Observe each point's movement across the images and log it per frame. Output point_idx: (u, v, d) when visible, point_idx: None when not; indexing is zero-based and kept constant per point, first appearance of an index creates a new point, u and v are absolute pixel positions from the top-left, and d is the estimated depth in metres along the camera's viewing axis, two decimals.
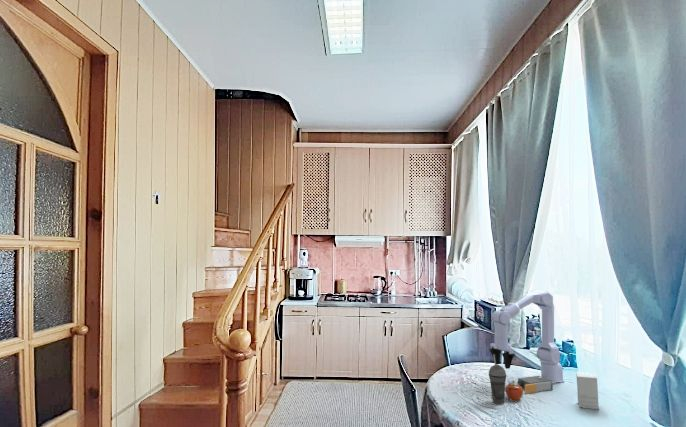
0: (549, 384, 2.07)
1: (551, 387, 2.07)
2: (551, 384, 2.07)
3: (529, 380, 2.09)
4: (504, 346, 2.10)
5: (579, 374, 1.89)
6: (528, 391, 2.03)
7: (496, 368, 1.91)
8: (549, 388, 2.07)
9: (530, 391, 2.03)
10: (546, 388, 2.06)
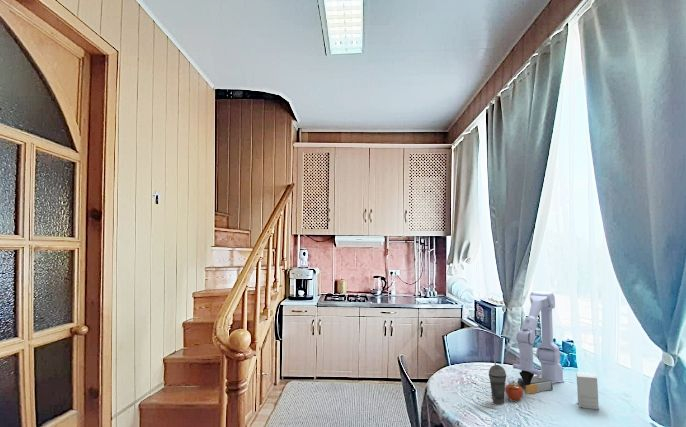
0: (549, 384, 2.07)
1: (551, 387, 2.07)
2: (551, 384, 2.07)
3: None
4: (530, 367, 2.02)
5: (579, 374, 1.89)
6: (529, 391, 2.02)
7: (496, 368, 1.91)
8: (549, 388, 2.07)
9: (531, 391, 2.03)
10: (546, 388, 2.06)
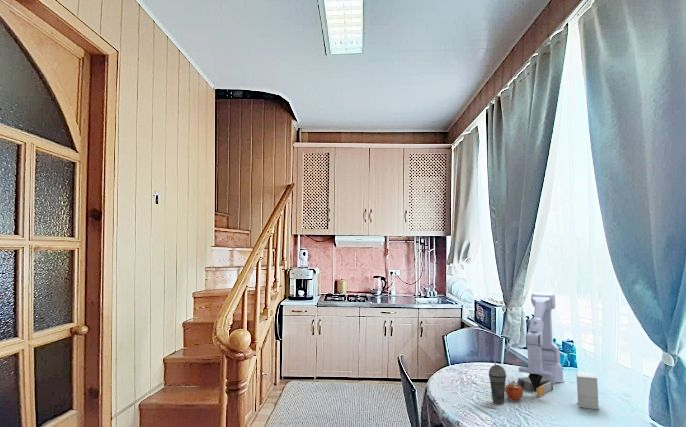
0: (550, 384, 2.07)
1: (552, 387, 2.07)
2: (552, 384, 2.07)
3: (529, 380, 2.09)
4: (541, 370, 1.98)
5: (579, 374, 1.89)
6: (539, 394, 1.98)
7: (496, 368, 1.91)
8: (550, 388, 2.07)
9: (541, 394, 1.99)
10: (549, 389, 2.05)
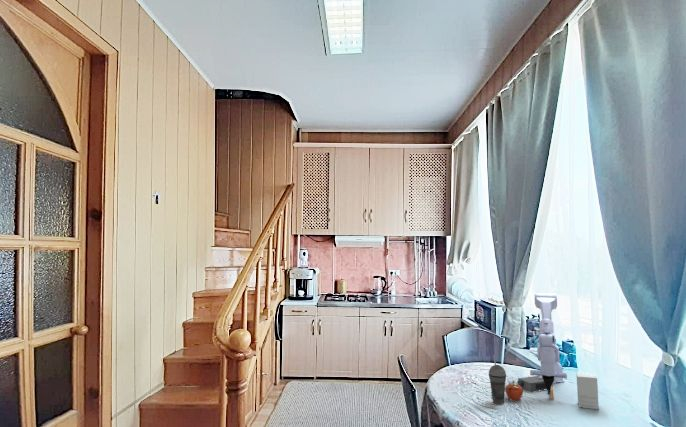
0: None
1: (552, 387, 2.07)
2: (552, 384, 2.07)
3: (529, 380, 2.09)
4: (555, 371, 1.96)
5: (579, 374, 1.89)
6: None
7: (496, 368, 1.91)
8: None
9: None
10: None
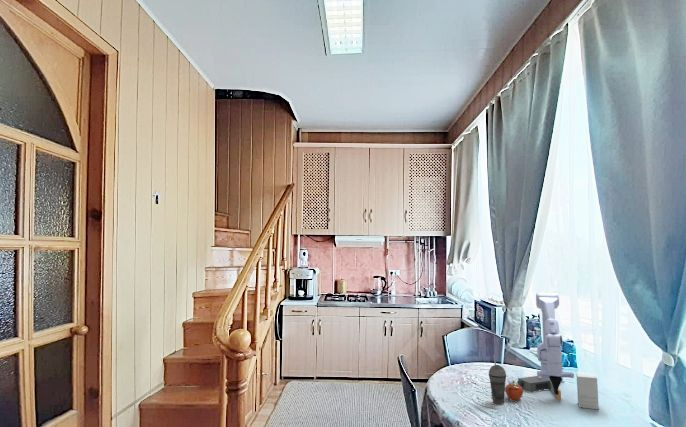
0: None
1: (552, 387, 2.07)
2: None
3: (529, 380, 2.09)
4: (562, 371, 1.95)
5: (579, 374, 1.89)
6: None
7: (496, 368, 1.91)
8: None
9: None
10: None
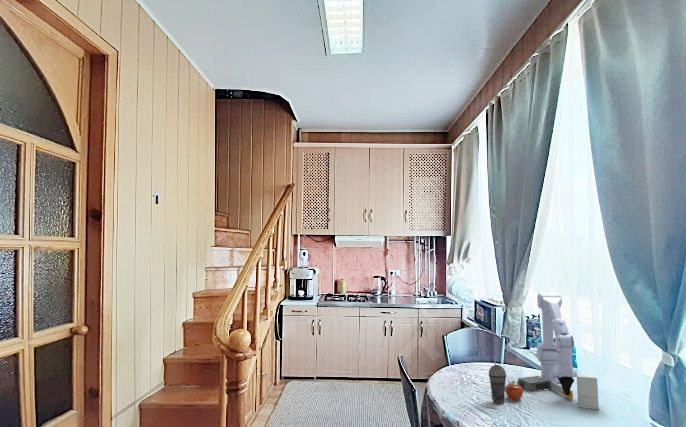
0: None
1: None
2: None
3: (529, 380, 2.09)
4: None
5: (579, 374, 1.89)
6: None
7: (496, 368, 1.91)
8: None
9: None
10: None
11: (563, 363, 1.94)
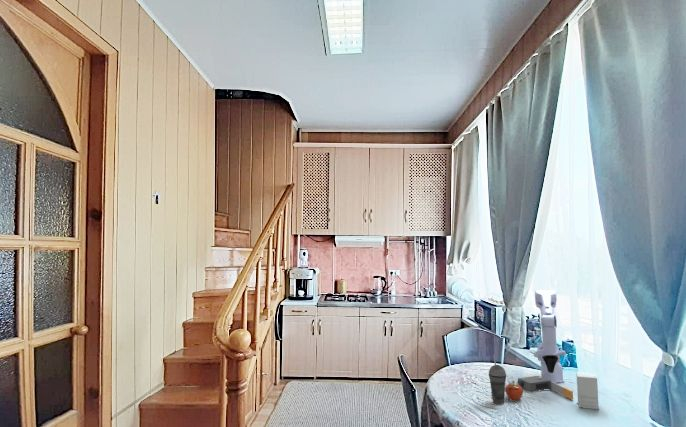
0: None
1: None
2: None
3: (529, 380, 2.09)
4: None
5: (579, 374, 1.89)
6: None
7: (496, 368, 1.91)
8: None
9: None
10: None
11: (547, 342, 2.03)
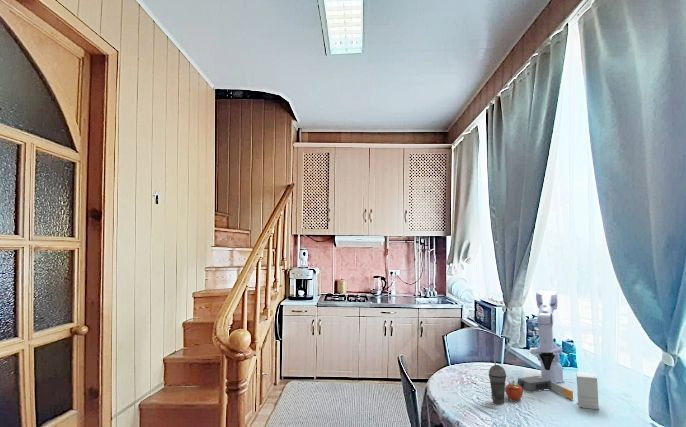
0: None
1: None
2: None
3: (529, 380, 2.09)
4: None
5: (579, 374, 1.89)
6: None
7: (496, 368, 1.91)
8: None
9: None
10: None
11: (544, 340, 2.06)
